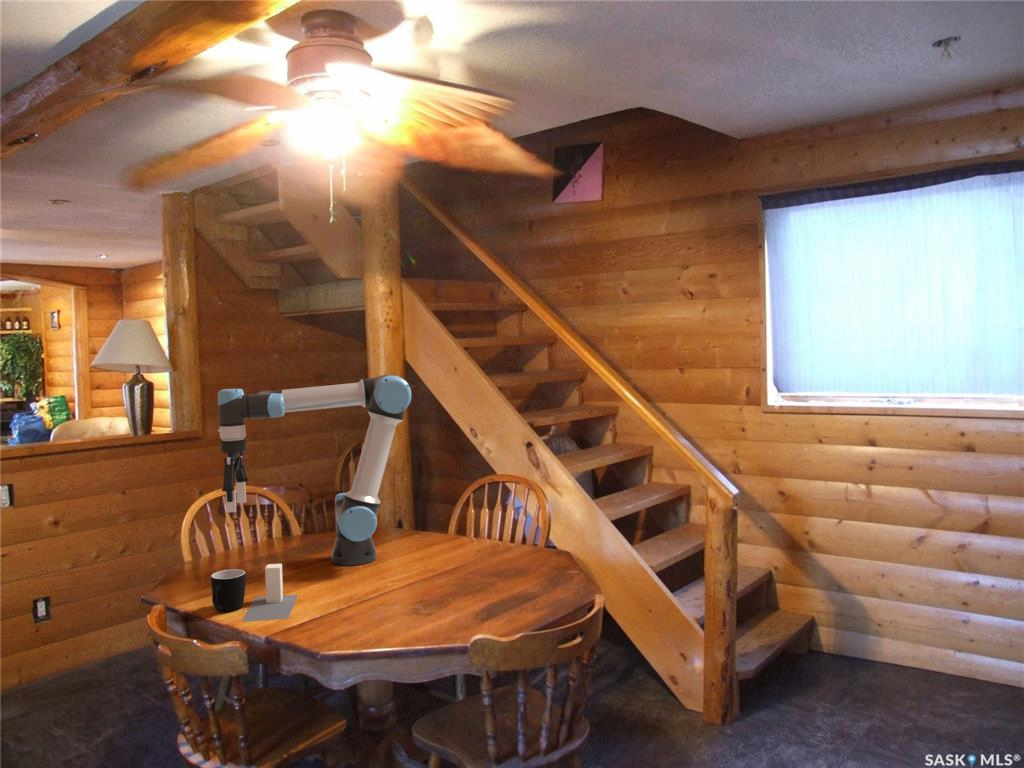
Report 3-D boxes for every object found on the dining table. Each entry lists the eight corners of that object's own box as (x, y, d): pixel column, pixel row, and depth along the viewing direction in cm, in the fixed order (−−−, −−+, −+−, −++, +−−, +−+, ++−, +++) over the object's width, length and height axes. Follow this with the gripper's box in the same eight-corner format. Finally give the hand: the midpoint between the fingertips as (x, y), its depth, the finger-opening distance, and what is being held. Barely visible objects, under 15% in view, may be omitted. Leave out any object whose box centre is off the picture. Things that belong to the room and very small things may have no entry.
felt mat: (298, 595, 227) (298, 594, 227) (288, 620, 207) (288, 618, 207) (255, 598, 225) (255, 597, 225) (241, 622, 206) (241, 621, 206)
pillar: (283, 597, 225) (282, 563, 224) (280, 602, 221) (279, 567, 220) (268, 598, 224) (267, 564, 224) (266, 603, 220) (265, 568, 219)
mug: (223, 603, 221) (222, 568, 221) (252, 605, 220) (251, 569, 219) (199, 618, 210) (197, 581, 209) (229, 620, 208) (228, 582, 207)
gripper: (230, 434, 251) (233, 499, 252) (209, 445, 226) (213, 517, 227) (254, 433, 252) (257, 498, 253) (236, 443, 227) (239, 515, 228)
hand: (236, 507), depth 240 cm, fingers open, 13 cm apart
